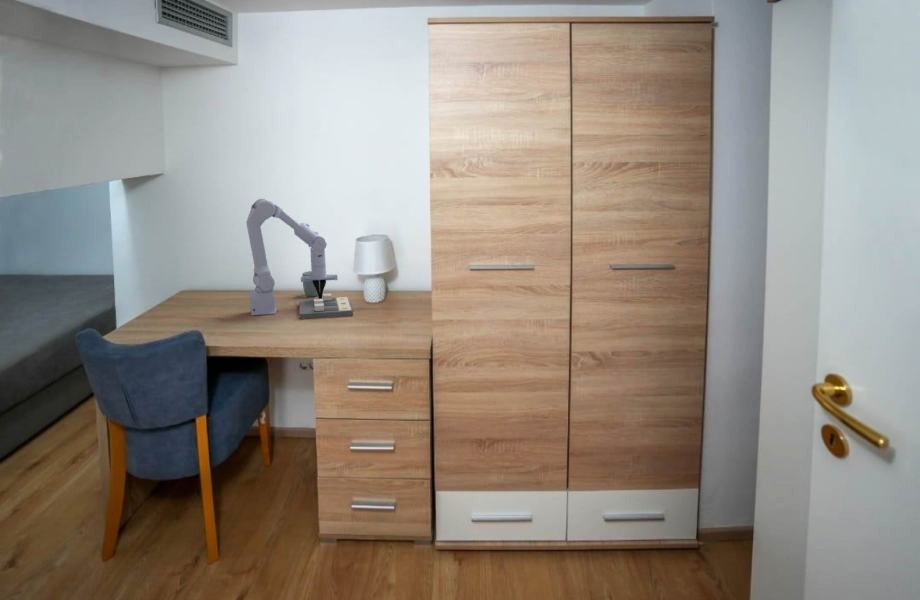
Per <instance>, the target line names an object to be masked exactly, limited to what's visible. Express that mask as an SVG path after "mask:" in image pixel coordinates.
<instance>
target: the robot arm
mask: <svg viewBox="0 0 920 600" xmlns="http://www.w3.org/2000/svg"><path fill="white" fill-rule="evenodd" d="M250 207H251V208H250V211H249V214H248V215H247V216H248V217H247V220H246V224H245V225H246V229H247V234H248V240H249V244H250V249H251V250H250V251H251V256H252V260H253V264H254V267H253V278H252V281H253V284H254V286H255V288H254V290H250V291H249V301H250V305H249V311H250V315H251V316H259V315H260V316H261V315H275V314H277V307H276V303H275V302H276V301H275V290H274V287H275V278H273V277H272V274H271V271H270V268H269V265H268V261H267V255H266V249H265V244H264V243H265V242H264V238H263V233H262V228H261V227H262V225H263V224H264V223H265V222H266V220H269V219H270V218H271V217H273V218H277V219H280V220H281V221H282V222H283V223H285V224H286V225H288V226H289V227H290V228H291V229H293V233H294V236H296V237H297V238H299V239H300V240H301V241H302V242H304V243H305V244H307V246H308V248H310V265H311V266H310V269H311V270H310V271H312V275H311V276H303V277H302V276H300V282H301V283H303V282H307V281H313V285H314V286H315V288H316V291H317V293H318V296H317V298H319V299H322V298H323V295H322V294H324V293H323V292H324V289H325V287H326V284H327V281H338V280H339V279H338V274H327V270H326V269H327V268H326V267H327V266H326V265H327V264H326V251H325V249H326V248H327V245H328V243H327V242H326V239H325V238H324V237H322V236H320V235H319V232H317V231H315V230H314V229H312V228H311V227H310V224H308V223H305V222H298V220H296V219H294V217H292V216H291V215H290V214H289V213H288V212H287V211H285V210H284V209H283V208H281V206H278V205H276V204H274V202H272V201H270V200H267V199H265V198H258V199H257V200H256V201H255V202H253V204H251V206H250ZM319 281H320V290H319Z"/></svg>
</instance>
